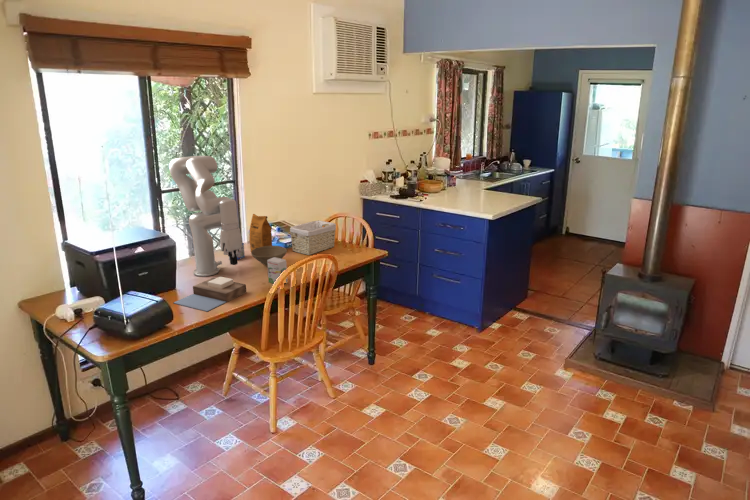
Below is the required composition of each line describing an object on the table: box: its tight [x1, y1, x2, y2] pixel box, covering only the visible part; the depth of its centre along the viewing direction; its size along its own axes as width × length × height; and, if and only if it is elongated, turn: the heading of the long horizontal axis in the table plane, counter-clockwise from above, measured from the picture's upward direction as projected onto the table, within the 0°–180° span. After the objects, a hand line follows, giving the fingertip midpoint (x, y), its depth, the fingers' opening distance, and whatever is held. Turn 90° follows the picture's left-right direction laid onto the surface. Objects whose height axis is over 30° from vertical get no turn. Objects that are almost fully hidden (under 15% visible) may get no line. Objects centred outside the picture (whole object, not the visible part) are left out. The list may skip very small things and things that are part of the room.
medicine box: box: [228, 242, 246, 261], centre depth 288 cm, size 8×4×9 cm, turn 148°
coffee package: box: [249, 213, 273, 253], centre depth 298 cm, size 10×12×22 cm
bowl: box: [250, 245, 288, 266], centre depth 278 cm, size 18×18×8 cm
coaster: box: [208, 276, 235, 289], centre depth 239 cm, size 8×8×2 cm
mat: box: [173, 293, 227, 313], centre depth 229 cm, size 11×20×1 cm, turn 62°
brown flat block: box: [192, 277, 247, 303], centre depth 239 cm, size 13×20×4 cm, turn 62°
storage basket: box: [289, 220, 337, 256], centre depth 303 cm, size 24×16×15 cm
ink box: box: [267, 257, 288, 284], centre depth 251 cm, size 8×5×12 cm, turn 55°
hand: (234, 264), depth 244 cm, fingers closed
